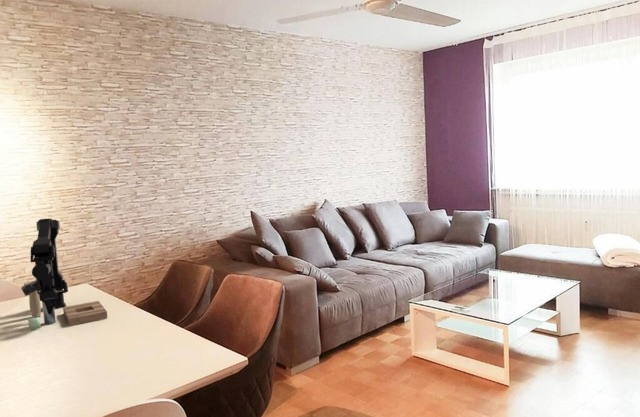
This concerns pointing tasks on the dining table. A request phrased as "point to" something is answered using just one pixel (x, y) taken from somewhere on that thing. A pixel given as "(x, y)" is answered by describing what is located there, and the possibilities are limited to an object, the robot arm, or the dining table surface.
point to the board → (84, 313)
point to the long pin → (48, 316)
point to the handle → (34, 303)
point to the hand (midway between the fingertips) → (48, 311)
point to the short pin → (34, 323)
